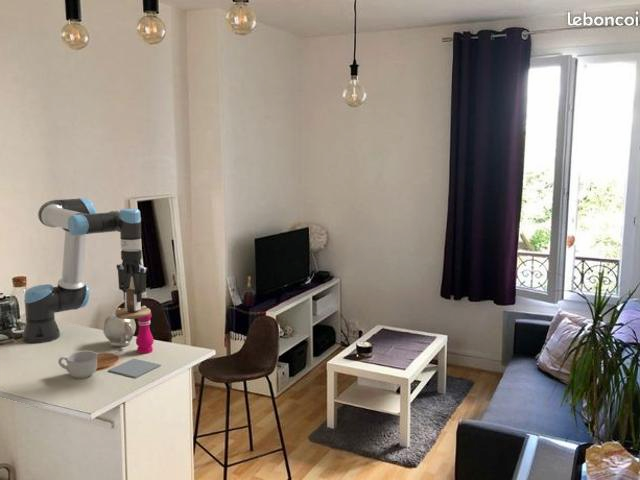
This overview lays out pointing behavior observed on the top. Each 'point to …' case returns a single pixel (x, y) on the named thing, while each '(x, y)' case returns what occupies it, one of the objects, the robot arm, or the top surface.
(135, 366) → the mat
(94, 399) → the top surface
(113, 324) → the teapot
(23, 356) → the top surface
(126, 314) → the lid
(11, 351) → the top surface
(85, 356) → the teacup
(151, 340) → the pepper mill
